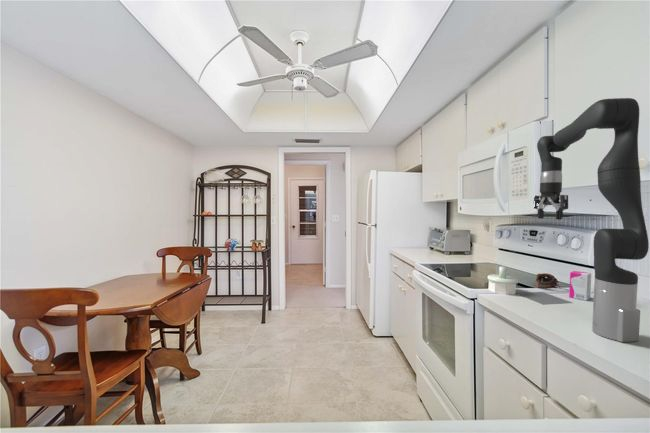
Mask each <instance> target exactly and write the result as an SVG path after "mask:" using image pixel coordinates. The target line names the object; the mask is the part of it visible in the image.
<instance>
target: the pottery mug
mask: <svg viewBox="0 0 650 433" xmlns="http://www.w3.org/2000/svg"><path fill="white" fill-rule="evenodd" d="M558 283H559V280H558V279H557V278H556V277H555V276H554V275H553V274H551V273H547V272H546V273H545V272H544V273H543V272H542V273H537V274H536V277H535V284H534V285H535V287H536V286H538V287H539V288H545V289H547V288H551V287H553V286H559V287H560V285H559V284H558Z"/></svg>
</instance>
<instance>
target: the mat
mask: <svg viewBox="0 0 650 433" xmlns="http://www.w3.org/2000/svg"><path fill="white" fill-rule="evenodd" d="M514 295H517V296H519V297H523V298H524V299H525V298H526V299H527V300H530V301H533V302H534V303H535V302H536V303H538V304H541V305H543V306H544V305H560V304H561V305H563V304H573V303H574V302H572V301H569V300H566V299H563V298H561V297H558V296H555V295H553V294H549V293H546V292H543V291H534V292H531V291H530V292H516V293H515V294H514Z"/></svg>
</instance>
